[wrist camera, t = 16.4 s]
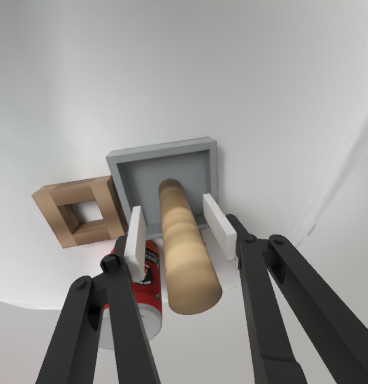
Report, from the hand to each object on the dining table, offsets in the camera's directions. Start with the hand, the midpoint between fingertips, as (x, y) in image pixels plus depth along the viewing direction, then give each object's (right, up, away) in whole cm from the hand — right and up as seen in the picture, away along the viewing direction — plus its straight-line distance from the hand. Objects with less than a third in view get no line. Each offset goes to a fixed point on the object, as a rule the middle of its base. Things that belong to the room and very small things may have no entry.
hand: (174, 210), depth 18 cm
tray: (-1, +3, +5) cm, 6 cm away
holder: (-12, 0, +5) cm, 13 cm away
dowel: (-1, +2, +5) cm, 6 cm away
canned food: (-7, -8, +10) cm, 15 cm away
